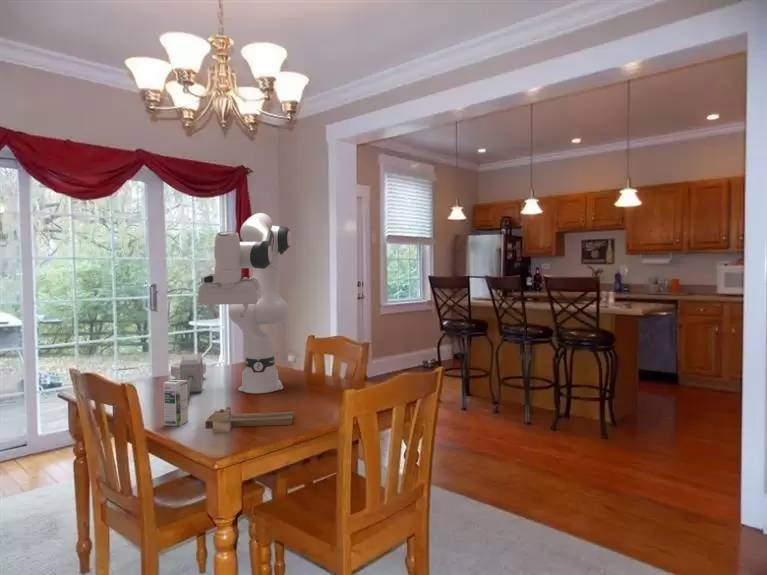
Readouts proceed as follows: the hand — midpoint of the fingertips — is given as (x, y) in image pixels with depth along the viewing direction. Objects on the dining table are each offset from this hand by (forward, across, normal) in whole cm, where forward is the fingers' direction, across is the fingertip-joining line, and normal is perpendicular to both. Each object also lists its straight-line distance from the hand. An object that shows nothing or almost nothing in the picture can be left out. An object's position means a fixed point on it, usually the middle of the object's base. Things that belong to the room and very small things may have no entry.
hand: (229, 317), depth 182 cm
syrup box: (+35, +17, +6) cm, 40 cm away
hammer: (+35, +22, -28) cm, 50 cm away
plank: (+35, -8, +8) cm, 37 cm away
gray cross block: (+35, +31, -61) cm, 77 cm away
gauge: (+35, 0, +11) cm, 37 cm away
